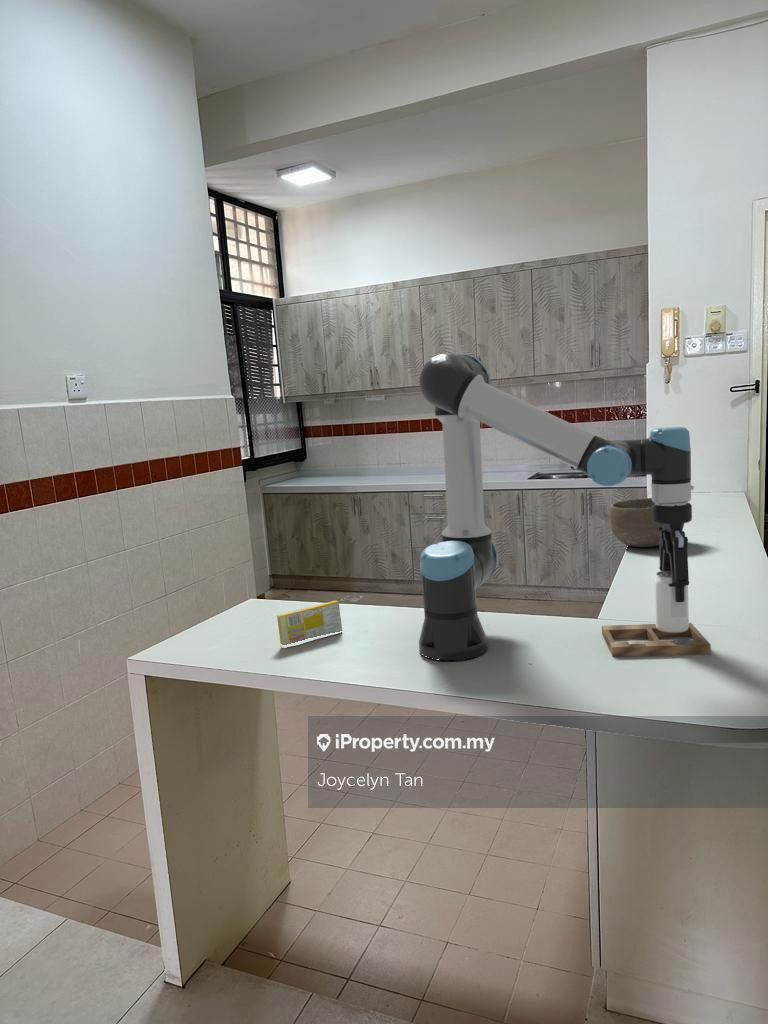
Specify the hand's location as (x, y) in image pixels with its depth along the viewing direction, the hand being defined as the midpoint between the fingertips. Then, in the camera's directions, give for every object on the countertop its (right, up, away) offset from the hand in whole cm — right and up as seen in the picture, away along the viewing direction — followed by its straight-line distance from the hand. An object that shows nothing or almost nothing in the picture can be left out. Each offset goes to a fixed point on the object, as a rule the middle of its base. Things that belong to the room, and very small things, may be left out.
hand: (674, 610), depth 147 cm
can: (0, -4, +1) cm, 4 cm away
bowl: (+30, +9, +95) cm, 100 cm away
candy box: (-79, -11, +24) cm, 83 cm away
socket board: (-4, -7, +2) cm, 8 cm away
